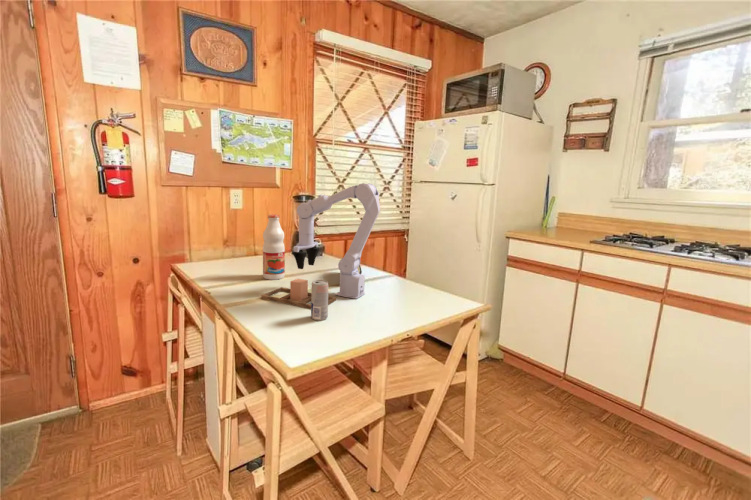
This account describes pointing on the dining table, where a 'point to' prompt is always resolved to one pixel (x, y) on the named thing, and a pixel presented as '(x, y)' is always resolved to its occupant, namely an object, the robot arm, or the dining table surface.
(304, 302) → the wooden divided frame
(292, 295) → the terracotta block
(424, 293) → the dining table surface
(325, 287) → the energy drink
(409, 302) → the dining table surface
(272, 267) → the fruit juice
